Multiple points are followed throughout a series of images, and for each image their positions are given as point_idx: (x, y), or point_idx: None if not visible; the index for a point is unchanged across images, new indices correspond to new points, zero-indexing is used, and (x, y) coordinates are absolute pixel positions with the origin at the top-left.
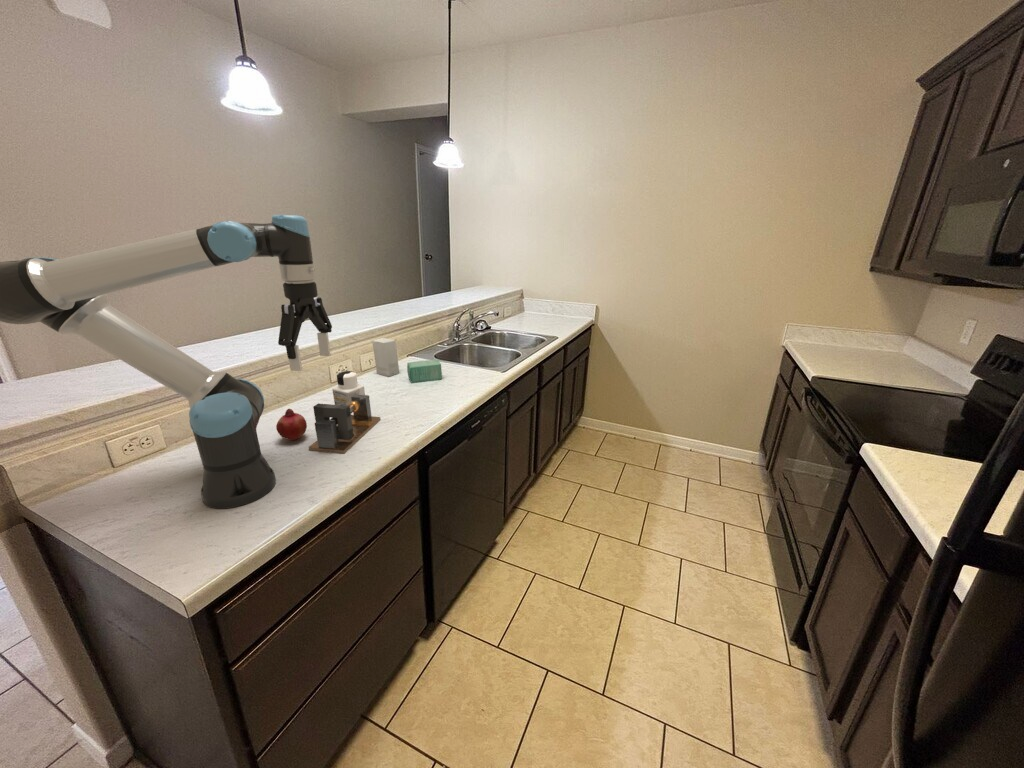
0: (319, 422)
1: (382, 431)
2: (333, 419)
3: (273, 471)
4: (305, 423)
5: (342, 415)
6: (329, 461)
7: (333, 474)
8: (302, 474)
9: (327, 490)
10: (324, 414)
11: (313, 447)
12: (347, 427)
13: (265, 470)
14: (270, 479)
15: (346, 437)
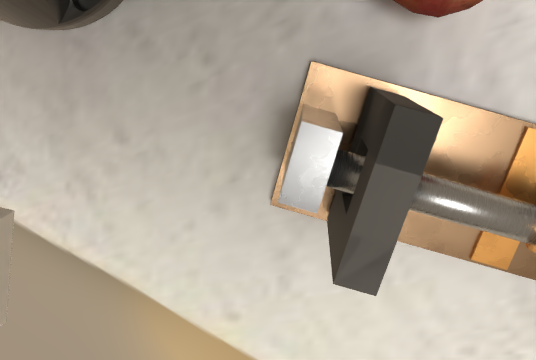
0: (307, 143)
1: (436, 301)
2: None
3: (93, 11)
4: (443, 14)
5: (338, 249)
6: (220, 163)
7: (137, 197)
8: (139, 97)
9: (52, 203)
10: (368, 156)
11: (307, 82)
12: (329, 239)
13: (15, 13)
14: (36, 26)
15: (331, 211)
